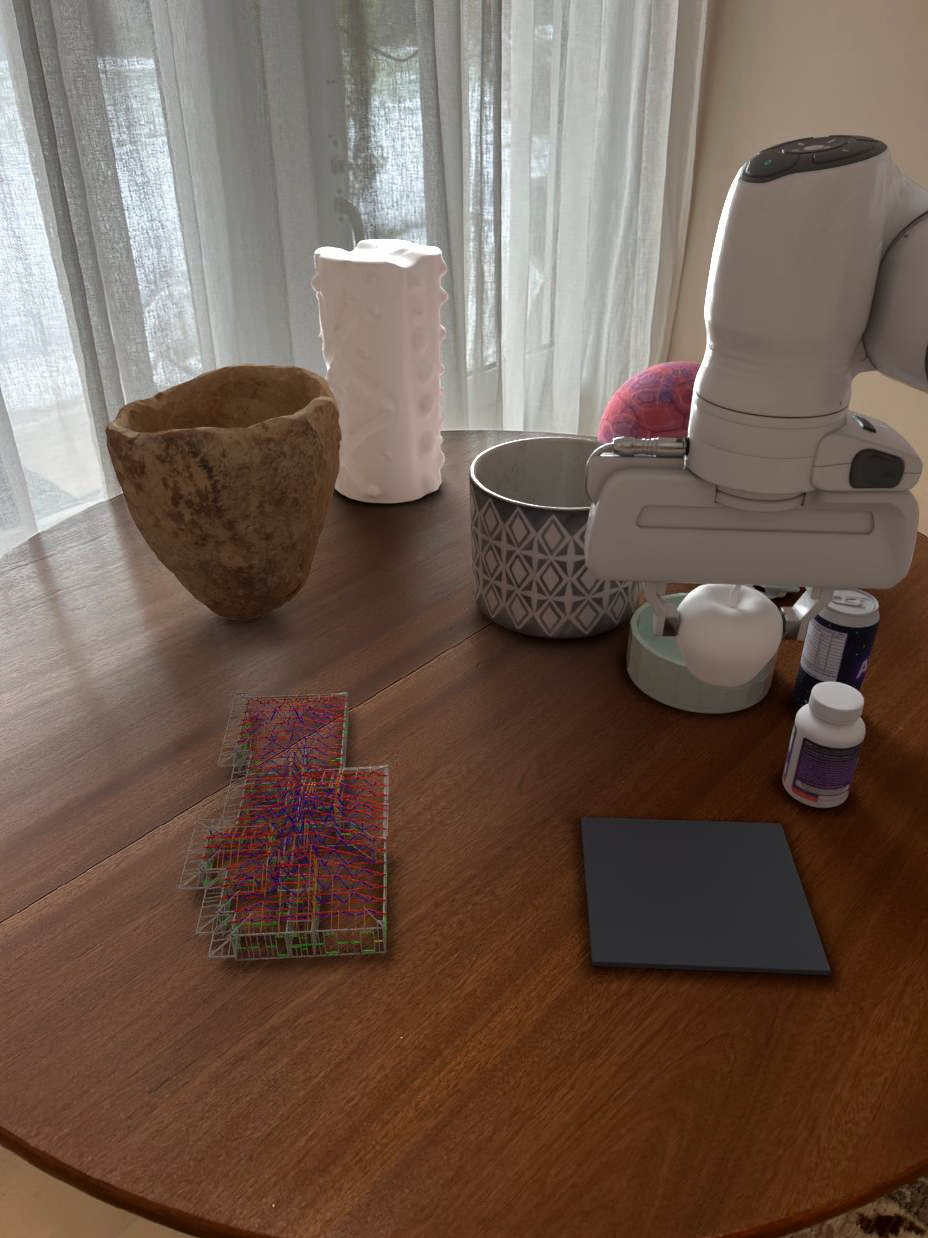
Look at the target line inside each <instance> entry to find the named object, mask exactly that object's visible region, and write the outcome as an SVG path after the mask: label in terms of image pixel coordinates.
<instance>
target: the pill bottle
mask: <svg viewBox="0 0 928 1238" xmlns="http://www.w3.org/2000/svg"><path fill="white" fill-rule="evenodd" d="M864 705H865V697H864V695H863V694H862V693H861V692H859V691H858V690H856V689H855V688H853V687H851V686H849V685H846V684H843V683H839V682H822V683H818V684H816V685H815V686H814V687H813V689H812V691H811V695H810V699H809V703H808V704H806V705H804V706H803V707H802V708H801V709H800V708H799V709H798V711H797V712H796V715H795V719H794V723H793V725H792V726H793V727H792V731H791V736H790V740H789V745H788V749H787V753H786V758H785V763H784V766H783V770H782V772H783V773H782V777H781V778H782V779H781V781H782V785H783V787H784V789H785V791H786V792H787V794H788V795H789V796H791V797H792V798H793V799H794V800H796V801H798V802H799V803H801V804H803V805H806V806H809V807H813V808H818V809H819V808H820V809H829V808H830V809H831V808H835V807H838V806H840V805H842V804H843V803H844V802H845V801H846V800H847V798H848V797H849V794H850V791H851V787H852V784H853V780H854V776H855V773H856V769H857V765H858V761H859V758H860V755H861V750H862V747H863V744H864V740H865V737H866V729H867V728H866V724H865V722H864V720H863V718H862V717H861V716H862V714H863V709H864Z"/></svg>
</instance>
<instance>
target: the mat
mask: <svg viewBox="0 0 928 1238" xmlns="http://www.w3.org/2000/svg"><path fill="white" fill-rule="evenodd" d="M580 828H581V830H580V831H581V841H582V853H583V866H584V879H585V880H584V881H585V890H586V892H585V893H586V904H587V916H588V928H589V941H590V943H589V944H590V955H591V966H593V967H607V968H610V967H611V968H633V969H635V968H636V969H657V970H658V969H660V970H681V971H682V970H683V971H684V970H687V971H711V972H712V971H713V972H735V973H737V972H738V973H740V972H741V973H760V974H785V975H787V974H788V975H812V976H830V975H831V973H832V970H831V967H830V964H829V961H828V957H827V955H826V952H825V949H824V946H823V944H822V940H821V937H820V934H819V931H818V928H817V925H816V922H815V919H814V917H813V913H812V911H811V908H810V905H809V902H808V899H807V896H806V893H805V890H804V887H803V883H802V881H801V878H800V875H799V872H798V869H797V866H796V863H795V860H794V858H793V855H792V851H791V848H790V846H789V843H788V840H787V837H786V834H785V831H784V828H783V825H782V823H775V822H748V821H747V822H744V821H717V820H713V821H712V820H687V819H684V820H683V819H653V818H651V819H650V818H626V817H625V818H620V817H593V816H592V817H591V816H590V817H589V816H581V817H580Z"/></svg>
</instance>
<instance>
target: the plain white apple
mask: <svg viewBox="0 0 928 1238" xmlns="http://www.w3.org/2000/svg"><path fill="white" fill-rule="evenodd" d="M757 590H758V589H756V590H754V589H751V588H748V587H745V586H744V585H730V584H701V585H699V586H697V587H695V588H694V589H692V590H691V591H690V592H688V593H689V594H688V595H687V596H686V597H685V598H684V600H683V601H682V602H681V604H680V605H679V607H678V609H677V611H678V613H679V624H678V626H677V636H676V640H677V643H678V646H679V648H680V651H681V653H682V656H683V659H684V661H685V664H686V666H687V668H688V670H689V672H690V673H691V674H692V675H693V676H694V677H696V678H697V679H699V680H700V681H702V682H704V683H706V684H708V685H713V686H720V687H736V686H740V685H742V684H745V683H747V682H749V681H750V680H751V679H753V678H754V677H755V676H756V675H757V674H758V673H759V672H760V670H761V669H762V668H763V667H764V666H765V665H766V664H767V663H768V662H769V661H770V659H771V658H772V657H773V656H774V654H775V653H776V651H777V649H778V647H779V648H780V645H781V642H782V640H781V639H782V633H783V620H782V617H781V614H780V609H779V608H778V607H777V605H776V604H775V603H774V602H773V601H772V599H768V598H767V597H766V596H765V595H763V594H762V593H760V592H761V591H760V590H758V591H757ZM759 591H760V592H759ZM778 650H779V649H778Z"/></svg>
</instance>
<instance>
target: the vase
mask: <svg viewBox="0 0 928 1238" xmlns="http://www.w3.org/2000/svg"><path fill="white" fill-rule="evenodd" d="M312 258H313V260H314V261H313V267H314V269H315V275H313V277H312V278H311V280H310V285H311V288H312V289H313V291H314V292H316V293H315V298H316V299H317V302H318V315H319V327H320V331H319V334H318V335H317V341H318V343H319V344H321V351H322V358H323V361H324V364H325V367H326V373H325V376H324V379H325V380H326V381H327V382H328V385H329V387H330V390H331V392H332V393H333V395H334V397H335V400H336V403H337V406H338V410H339V421H338V422H339V426H340V429H341V435H342V440H341V441H340V449H339V458H340V468H339V474H338V477H337V480H336V483H335V487H334V490H335V491H337V493H340V495H343V496H345V497H347V498H348V499H351V500H355V501H359V502H362V503H369V504H370V503H371V504H399V503H400V504H401V503H405V502H406V503H407V502H413V501H416V500H419V499H422V498H424V496H426V495H428V494H431V493H433V492H436V491H438V490H439V489H440V485H442V483H443V482H442V481H443V480H442V473H441V470H442V467H443V466H444V465H445V462H446V458H445V454H444V451H443V450H442V449H441V448H442V444H443V442H444V441H445V439H444V437H443V436H442V435H441V423H442V421H443V420H444V419H445V415H444V414H443V413H442V411H441V398H442V396H443V395H445V388H444V387H443V386H442V385H441V384H442V383H441V378H442V376H443V374H445V373H446V369H447V368H446V367H445V365H444V364H443V363H442V361H441V344H442V343H443V341H444V340H445V339H446V338H447V329H446V328H445V326H443V325H442V323H441V308H442V307H443V305H444V304H445V303H447V302H448V300H449V298H450V297H449V293H448V292H447V290H446V289H444V288H443V287H442V278H443V277H444V276H446V274H447V273H448V268H449V267H448V264H447V263H446V261H444V259H443V258H444V257H443V252H442V250H441V249H440V248H439V247H438V246H433V245H418V244H416V243H414V242H410V241H408V240H405V239H392V238H391V239H388V238H387V239H386V238H385V239H383V238H381V239H380V238H378V239H364V240H360V241H359V242H357V244H356V246H355V247H354V249H353V250H351V251H348V250H345V249H343V248H340V247H339V248H338V247H334V246H322V247H319V248H317V249H316V250H315V251H314V252H313V256H312Z"/></svg>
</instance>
